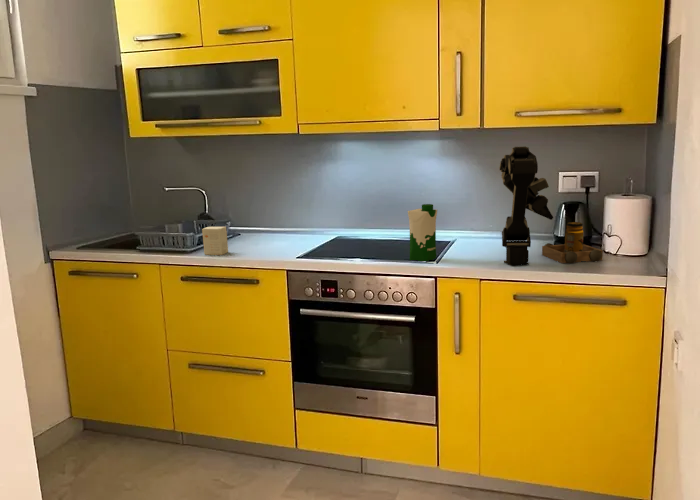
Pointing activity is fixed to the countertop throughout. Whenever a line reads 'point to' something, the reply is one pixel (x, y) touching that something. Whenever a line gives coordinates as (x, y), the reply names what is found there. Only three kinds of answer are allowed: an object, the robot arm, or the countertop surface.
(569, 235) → the condiment
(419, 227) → the milk carton
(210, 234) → the small box
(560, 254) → the chassis bay
